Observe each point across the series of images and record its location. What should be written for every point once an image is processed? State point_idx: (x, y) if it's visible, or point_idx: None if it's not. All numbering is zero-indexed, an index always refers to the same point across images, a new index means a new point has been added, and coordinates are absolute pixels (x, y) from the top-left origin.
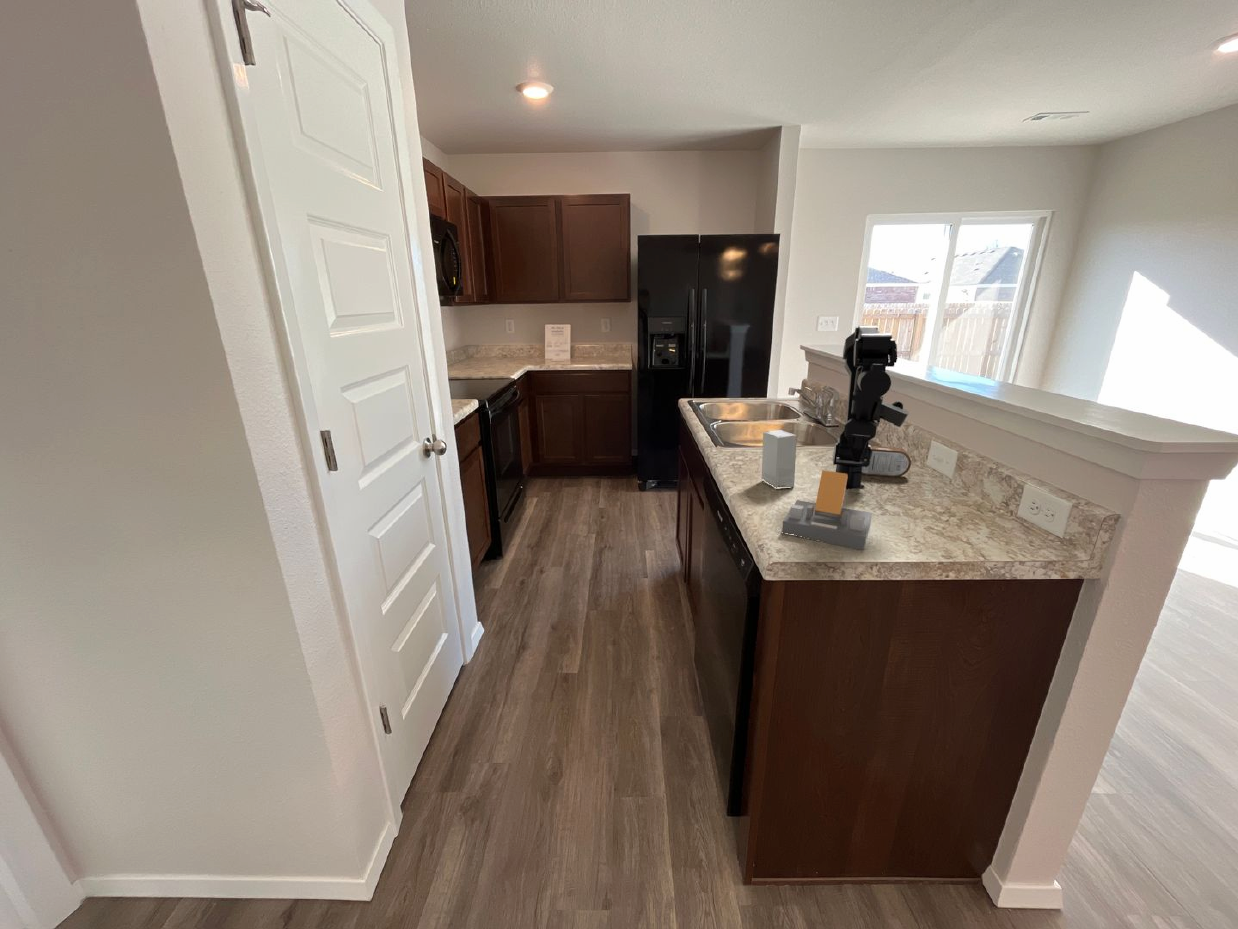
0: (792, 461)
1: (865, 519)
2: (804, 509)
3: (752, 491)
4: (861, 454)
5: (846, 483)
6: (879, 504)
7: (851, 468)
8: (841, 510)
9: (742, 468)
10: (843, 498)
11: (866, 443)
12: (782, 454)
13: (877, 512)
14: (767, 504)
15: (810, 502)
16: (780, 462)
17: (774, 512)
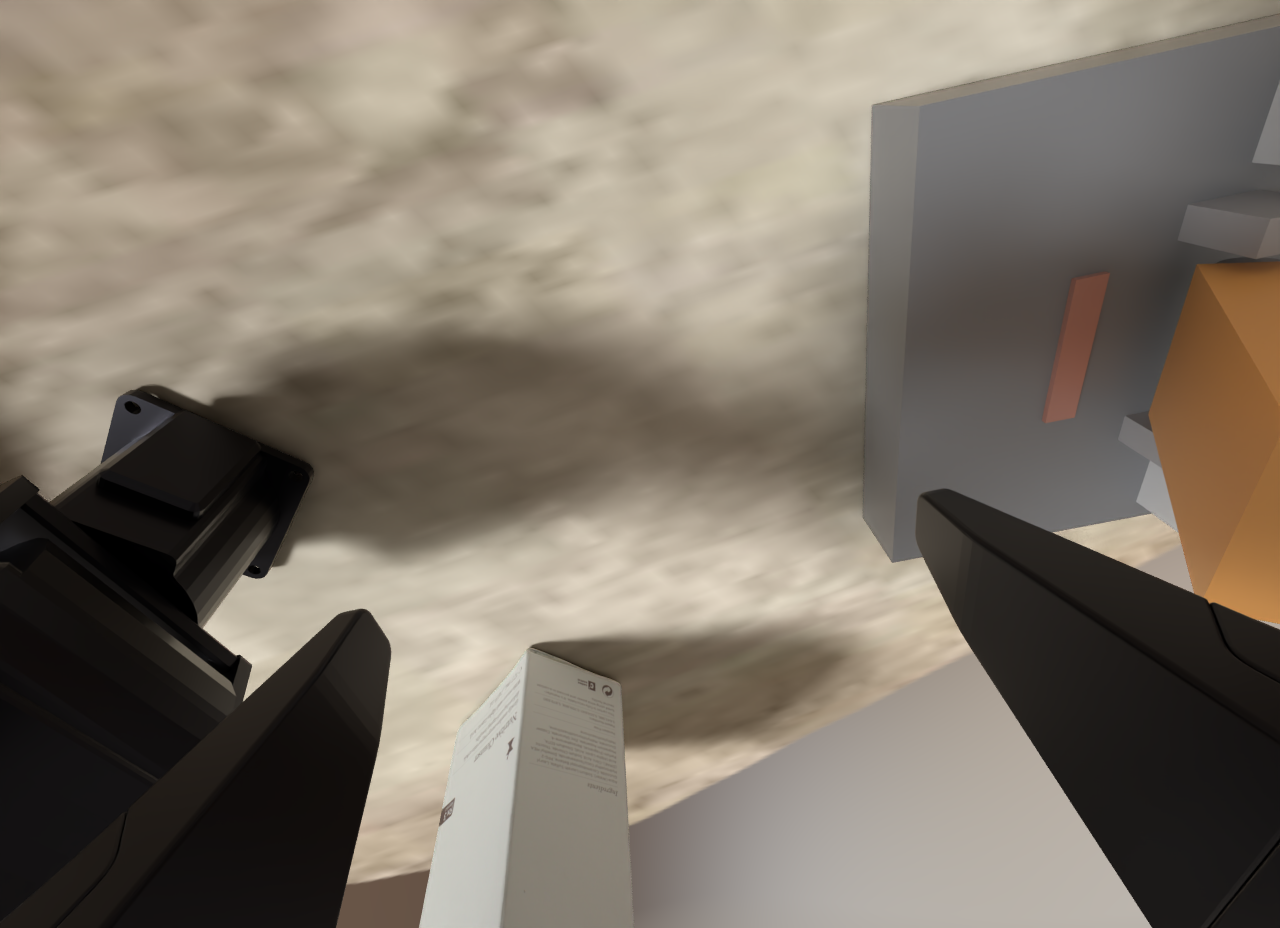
0: (535, 812)
1: (1101, 103)
2: (1033, 483)
3: (703, 724)
4: (1080, 555)
5: (1277, 382)
6: (388, 181)
7: (182, 554)
8: (1214, 280)
9: None
10: (1264, 315)
11: (274, 720)
12: (602, 892)
13: (575, 140)
14: (830, 630)
15: (897, 503)
16: (610, 833)
17: (917, 575)
